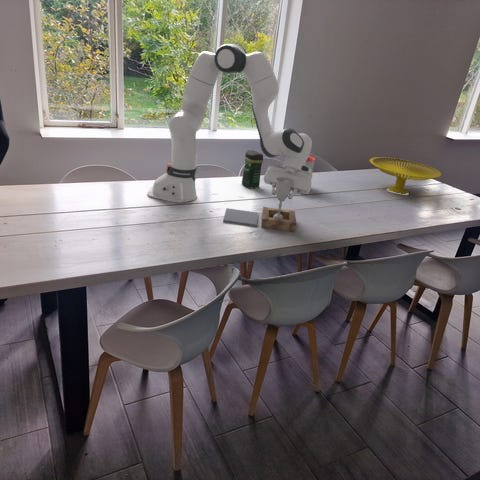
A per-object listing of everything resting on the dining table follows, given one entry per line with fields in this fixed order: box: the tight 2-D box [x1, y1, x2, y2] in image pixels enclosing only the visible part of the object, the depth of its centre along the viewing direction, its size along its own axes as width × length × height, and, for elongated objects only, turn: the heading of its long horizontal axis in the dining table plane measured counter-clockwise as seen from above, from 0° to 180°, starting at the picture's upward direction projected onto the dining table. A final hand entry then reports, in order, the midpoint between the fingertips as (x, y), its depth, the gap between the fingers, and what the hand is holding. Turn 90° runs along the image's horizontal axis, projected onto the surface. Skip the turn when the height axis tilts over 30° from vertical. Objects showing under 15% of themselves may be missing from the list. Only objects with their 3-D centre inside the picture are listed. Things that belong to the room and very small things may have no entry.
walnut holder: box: [260, 206, 297, 233], centre depth 183 cm, size 14×14×4 cm
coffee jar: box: [241, 149, 264, 189], centre depth 223 cm, size 10×8×19 cm
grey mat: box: [222, 207, 259, 228], centre depth 184 cm, size 14×14×1 cm
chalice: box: [273, 177, 293, 219], centre depth 180 cm, size 7×7×18 cm
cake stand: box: [369, 156, 442, 194], centre depth 248 cm, size 40×40×15 cm
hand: (281, 196), depth 178 cm, fingers open, 6 cm apart
